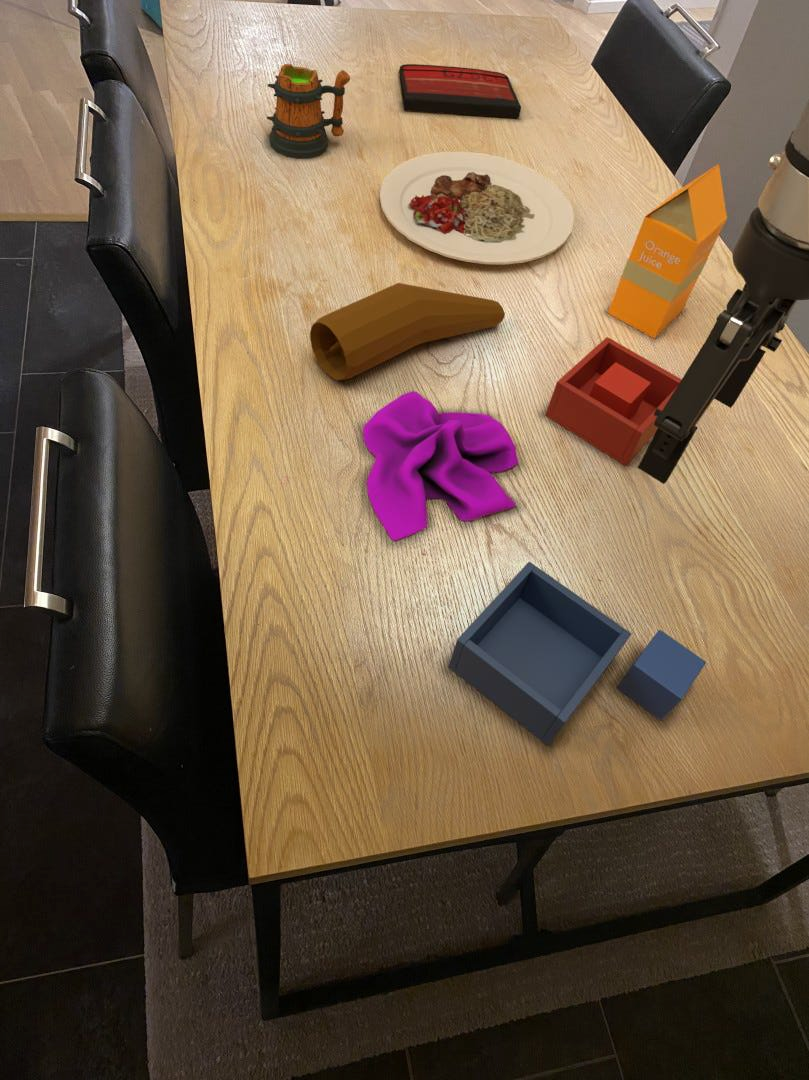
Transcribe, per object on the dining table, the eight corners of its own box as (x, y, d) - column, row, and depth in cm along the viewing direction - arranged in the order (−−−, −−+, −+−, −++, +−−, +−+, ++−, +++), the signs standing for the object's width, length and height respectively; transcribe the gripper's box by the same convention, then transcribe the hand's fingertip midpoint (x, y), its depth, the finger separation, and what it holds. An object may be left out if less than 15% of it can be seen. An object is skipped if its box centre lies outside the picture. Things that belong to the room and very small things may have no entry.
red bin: (671, 416, 95) (689, 383, 91) (625, 466, 90) (642, 433, 85) (593, 370, 99) (607, 336, 94) (544, 415, 93) (556, 381, 89)
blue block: (685, 684, 74) (707, 661, 69) (661, 721, 71) (682, 699, 67) (640, 653, 75) (659, 628, 71) (615, 687, 73) (633, 664, 69)
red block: (636, 412, 94) (651, 382, 90) (616, 433, 92) (630, 403, 88) (602, 392, 96) (615, 361, 92) (582, 412, 93) (594, 381, 89)
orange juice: (683, 310, 108) (748, 175, 92) (654, 339, 104) (718, 202, 88) (636, 285, 111) (691, 149, 95) (606, 312, 106) (659, 174, 90)
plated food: (608, 224, 120) (615, 204, 117) (487, 300, 105) (492, 280, 102) (465, 143, 130) (468, 123, 127) (338, 203, 115) (338, 182, 113)
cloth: (373, 387, 93) (377, 348, 88) (522, 414, 93) (534, 376, 88) (337, 531, 80) (339, 494, 75) (511, 562, 80) (524, 527, 75)
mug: (266, 157, 121) (262, 79, 112) (269, 125, 127) (266, 49, 117) (347, 163, 122) (351, 87, 113) (347, 131, 128) (350, 56, 119)
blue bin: (612, 660, 74) (632, 633, 70) (548, 746, 68) (565, 722, 64) (516, 591, 78) (529, 561, 73) (447, 667, 72) (456, 639, 68)
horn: (486, 335, 105) (343, 409, 94) (448, 271, 104) (300, 338, 93) (517, 308, 98) (366, 385, 87) (475, 239, 97) (318, 307, 86)
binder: (521, 105, 135) (404, 97, 132) (519, 119, 137) (403, 111, 134) (507, 68, 145) (398, 60, 142) (505, 82, 146) (397, 74, 144)
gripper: (822, 146, 61) (711, 353, 78) (677, 271, 49) (583, 485, 66) (913, 185, 59) (778, 390, 76) (785, 326, 46) (658, 534, 63)
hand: (687, 434), depth 71 cm, fingers open, 13 cm apart
